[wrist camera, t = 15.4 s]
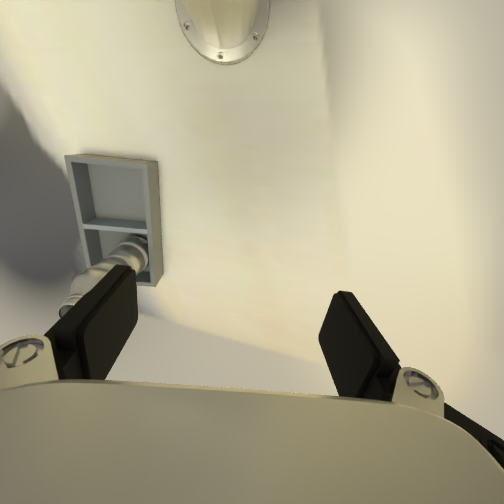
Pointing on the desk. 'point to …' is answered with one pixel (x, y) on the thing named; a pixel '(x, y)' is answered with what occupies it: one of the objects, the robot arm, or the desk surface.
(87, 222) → the grey divided tray
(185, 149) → the desk surface
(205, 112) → the desk surface
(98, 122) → the desk surface
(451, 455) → the robot arm
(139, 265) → the plastic bottle
